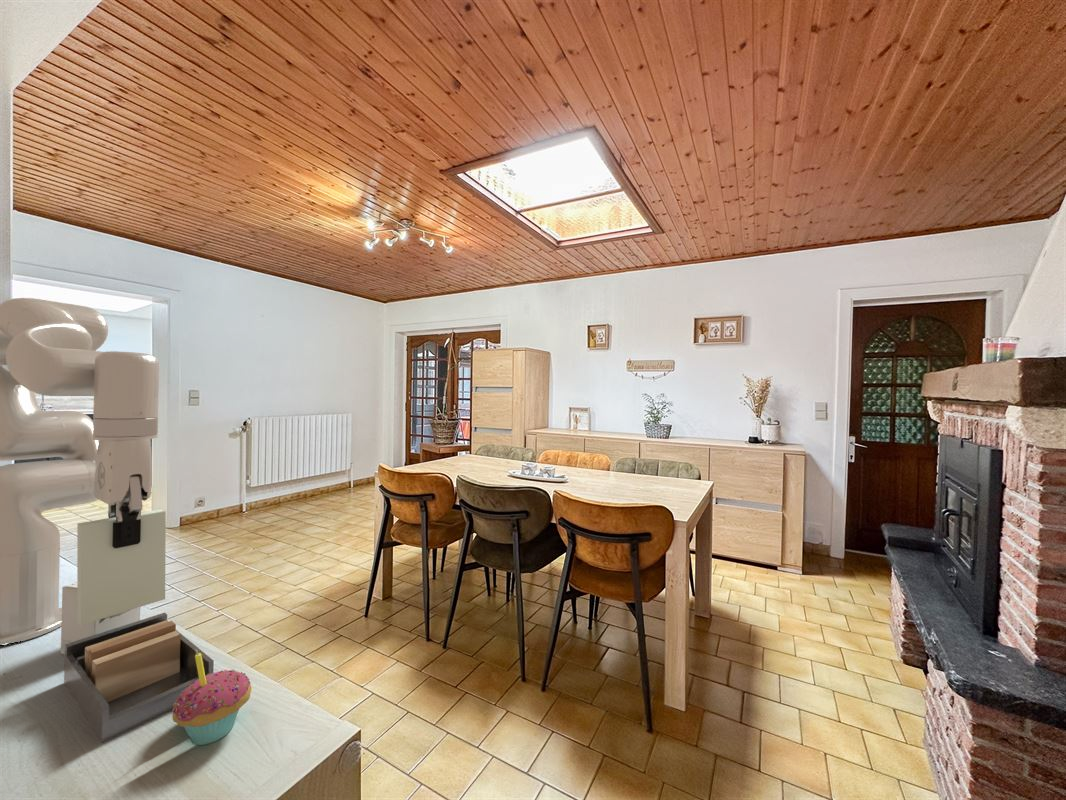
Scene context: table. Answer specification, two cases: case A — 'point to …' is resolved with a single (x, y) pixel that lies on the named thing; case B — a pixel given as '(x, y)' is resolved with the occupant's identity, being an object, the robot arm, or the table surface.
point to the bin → (134, 705)
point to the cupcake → (211, 703)
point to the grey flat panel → (119, 568)
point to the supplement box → (77, 632)
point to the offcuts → (133, 659)
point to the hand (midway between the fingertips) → (123, 543)
